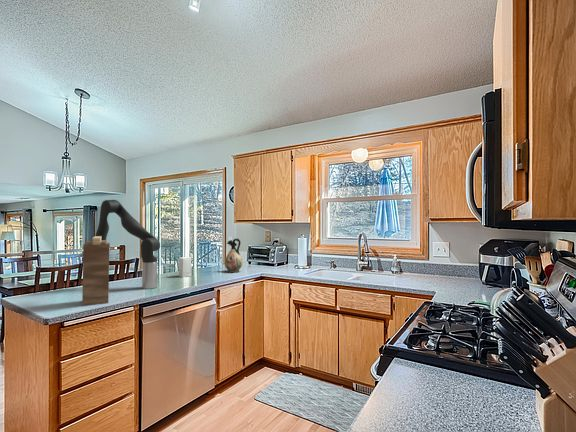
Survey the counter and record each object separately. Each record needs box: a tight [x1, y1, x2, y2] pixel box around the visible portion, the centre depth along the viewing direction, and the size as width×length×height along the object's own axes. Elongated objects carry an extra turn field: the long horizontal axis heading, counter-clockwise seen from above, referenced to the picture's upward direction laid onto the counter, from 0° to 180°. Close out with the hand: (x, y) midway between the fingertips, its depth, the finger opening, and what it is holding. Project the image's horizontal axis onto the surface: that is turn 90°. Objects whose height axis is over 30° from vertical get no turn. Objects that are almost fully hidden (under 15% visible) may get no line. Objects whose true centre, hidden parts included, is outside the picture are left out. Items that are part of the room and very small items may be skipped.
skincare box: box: [178, 256, 192, 278], centre depth 263 cm, size 8×7×16 cm
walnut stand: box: [81, 239, 110, 306], centre depth 179 cm, size 12×12×34 cm
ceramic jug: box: [224, 238, 243, 273], centre depth 289 cm, size 17×15×30 cm
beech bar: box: [92, 235, 102, 245], centre depth 182 cm, size 26×4×4 cm, turn 29°
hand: (96, 245), depth 206 cm, fingers open, 8 cm apart
